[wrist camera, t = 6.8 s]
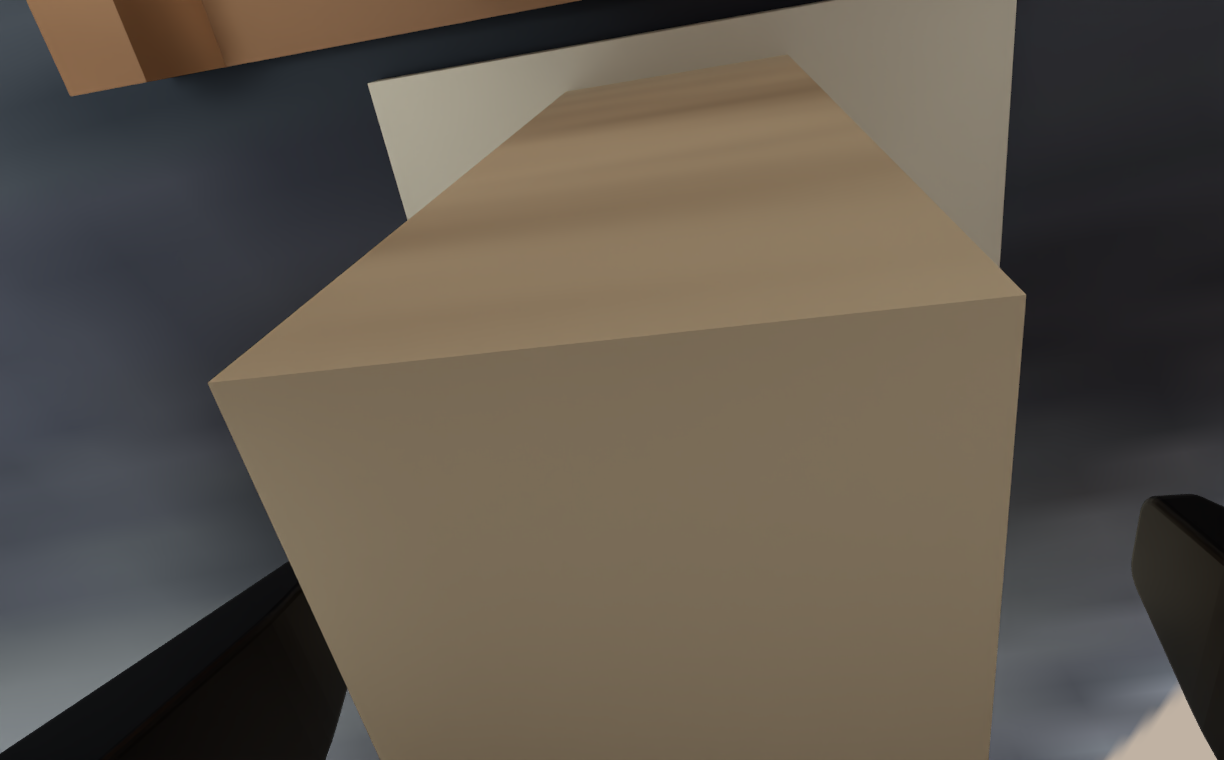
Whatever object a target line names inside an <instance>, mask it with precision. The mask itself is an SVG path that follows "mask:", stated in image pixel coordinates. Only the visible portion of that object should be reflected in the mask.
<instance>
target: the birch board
mask: <svg viewBox="0 0 1224 760" xmlns="http://www.w3.org/2000/svg"><path fill="white" fill-rule="evenodd" d="M1025 305H1026V294H1025V293H1024V292H1023V291H1022V290H1021V289H1020V288H1019V287H1018V286H1017V285H1016V284H1015V283H1014V282H1013V281H1012V280H1011V279H1010V278H1009V277H1008V276H1007V275H1006V274H1005V273H1004V272H1003V271H1002V270H1001V269H1000V268H999V267H998V266H997V265H996V264H995V263H994V262H993V261H992V260H991V259H990V258H989V257H988V256H987V255H986V254H985V253H984V252H983V251H982V250H981V249H980V248H979V247H978V246H977V245H976V244H975V243H974V242H973V241H972V240H971V239H970V238H969V237H968V236H967V235H966V234H965V233H964V232H963V231H962V230H961V229H960V227H959V226H958V225H957V224H956V223H955V222H954V221H953V220H952V219H951V218H950V217H949V216H948V215H947V214H946V213H945V212H944V211H943V210H942V209H941V208H940V207H939V206H938V205H937V204H936V203H935V202H934V201H933V200H932V199H931V198H930V197H929V196H928V195H927V194H926V193H925V192H924V191H923V190H922V189H921V188H920V187H919V186H918V185H917V184H916V183H915V182H914V181H913V180H912V179H911V178H910V177H909V176H908V175H907V174H906V173H905V172H904V171H903V170H902V169H901V168H900V167H899V166H898V165H897V164H896V163H895V162H894V161H893V160H892V159H891V158H890V157H889V156H888V155H887V154H886V153H885V152H884V151H883V150H882V149H881V148H880V147H879V146H878V145H877V144H876V143H875V142H874V141H873V140H872V139H871V138H870V137H869V136H868V135H867V134H866V133H865V132H864V131H863V130H862V129H861V128H860V127H859V126H858V125H857V124H856V123H855V122H854V121H853V120H852V119H851V118H850V117H849V116H848V115H847V114H846V113H845V112H844V111H843V110H842V109H841V108H840V107H839V106H838V105H837V104H836V103H835V102H834V101H833V100H832V99H831V97H830V96H829V95H828V94H827V93H826V92H825V91H824V90H823V89H822V88H821V87H820V86H819V85H818V84H817V83H816V82H815V81H814V80H813V79H812V78H811V77H810V76H809V75H808V74H807V73H806V72H805V71H804V70H803V69H802V68H801V67H800V66H799V65H798V64H797V63H796V62H795V61H794V60H793V59H792V58H791V57H790V56H789V55H788V54H787V55H781V56H775V57H769V58H763V59H757V60H751V61H745V62H739V63H733V64H727V65H721V66H716V67H710V68H704V69H698V70H692V71H686V72H680V73H674V74H668V75H662V76H656V77H650V78H644V79H638V80H632V81H626V82H620V83H614V84H608V85H602V86H596V87H590V88H584V89H578V90H572V91H566V92H565V93H564V94H562V95H561V96H560V97H559V98H557V99H556V100H555V101H554V102H553V103H551V104H550V105H549V106H548V107H546V108H545V109H544V110H543V111H541V112H540V113H539V114H538V115H537V116H535V117H534V118H533V119H532V120H530V121H529V122H528V123H527V124H525V125H524V126H523V127H522V128H521V129H519V130H518V131H517V132H516V133H514V134H513V135H512V136H511V137H509V138H508V139H507V140H506V141H505V142H503V143H502V144H501V145H500V146H498V147H497V148H496V149H495V150H493V151H492V152H491V153H490V154H489V155H487V156H486V157H485V158H484V159H482V160H481V161H480V162H479V163H477V164H476V165H475V166H474V167H473V168H471V169H470V170H469V171H468V172H466V173H465V174H464V175H463V176H461V177H460V178H459V179H458V180H457V181H455V182H454V183H453V184H452V185H450V186H449V187H448V188H447V189H446V190H444V191H443V192H442V193H441V194H439V195H438V196H437V197H436V198H434V199H433V200H432V201H431V202H430V203H428V204H427V205H426V206H425V207H423V208H422V209H421V210H420V211H418V212H417V213H416V214H415V215H414V216H412V217H411V218H410V219H409V220H407V221H406V222H405V223H404V224H402V225H401V226H400V227H399V228H398V229H396V230H395V231H394V232H393V233H391V234H390V235H389V236H388V237H386V238H385V239H384V240H383V241H382V242H380V243H379V244H378V245H377V246H375V247H374V248H373V249H372V250H370V251H369V252H368V253H367V254H366V255H364V256H363V257H362V258H361V259H359V260H358V261H357V262H356V263H354V264H353V265H352V266H351V267H350V268H348V269H347V270H346V271H345V272H343V273H342V274H341V275H340V276H338V277H337V278H336V279H335V280H334V281H332V282H331V283H330V284H329V285H327V286H326V287H325V288H324V289H322V290H321V291H320V292H319V293H318V294H316V295H315V296H314V297H313V298H311V299H310V300H309V301H308V302H306V303H305V304H304V305H303V306H302V307H300V308H299V309H298V310H297V311H295V312H294V313H293V314H292V315H290V316H289V317H288V318H287V319H286V320H284V321H283V322H282V323H281V324H279V325H278V326H277V327H276V328H275V329H273V330H272V331H271V332H270V333H268V334H267V335H266V336H265V337H263V338H262V339H261V340H260V341H259V342H257V343H256V344H255V345H254V346H252V347H251V348H250V349H249V350H247V351H246V352H245V353H244V354H243V355H241V356H240V357H239V358H238V359H236V360H235V361H234V362H233V363H231V364H230V365H229V366H228V367H227V368H225V369H224V370H223V371H222V372H220V373H219V374H218V375H217V376H215V377H214V378H213V379H212V380H211V381H209V382H208V385H209V387H210V389H211V392H212V394H213V396H214V398H215V400H216V403H217V405H218V407H219V409H220V411H221V413H222V416H223V418H224V420H225V422H226V424H227V427H228V429H229V431H230V433H231V435H232V437H233V440H234V442H235V444H236V446H237V448H238V451H239V453H240V455H241V457H242V459H243V461H244V464H245V466H246V468H247V470H248V472H249V475H250V477H251V479H252V481H253V483H254V485H255V488H256V490H257V492H258V494H259V496H260V499H261V501H262V503H263V505H264V507H265V509H266V512H267V514H268V516H269V518H270V520H271V523H272V525H273V527H274V529H275V531H276V533H277V536H278V538H279V540H280V542H281V544H282V547H283V549H284V551H285V553H286V555H287V557H288V560H289V562H290V564H291V566H292V568H293V571H294V573H295V575H296V577H297V579H298V581H299V584H300V586H301V588H302V590H303V592H304V595H305V597H306V599H307V601H308V603H309V605H310V608H311V610H312V612H313V614H314V616H315V619H316V621H317V623H318V625H319V627H320V629H321V632H322V634H323V636H324V638H325V640H326V643H327V645H328V647H329V649H330V651H331V653H332V656H333V658H334V660H335V662H336V664H337V667H338V669H339V671H340V673H341V675H342V677H343V680H344V682H345V684H346V686H347V688H348V691H349V693H350V695H351V697H352V699H353V701H354V704H355V706H356V708H357V710H358V712H359V715H360V717H361V719H362V721H363V723H364V725H365V728H366V730H367V732H368V734H369V736H370V739H371V741H372V743H373V745H374V747H375V749H376V752H377V754H378V756H379V758H380V760H988V759H989V746H990V734H991V722H992V710H993V697H994V685H995V673H996V661H997V648H998V636H999V624H1000V611H1001V599H1002V587H1003V575H1004V562H1005V550H1006V538H1007V526H1008V513H1009V501H1010V489H1011V476H1012V464H1013V452H1014V440H1015V427H1016V415H1017V403H1018V391H1019V378H1020V366H1021V354H1022V341H1023V329H1024V317H1025Z"/></svg>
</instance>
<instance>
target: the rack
mask: <svg viewBox="0 0 1224 760" xmlns="http://www.w3.org/2000/svg"><path fill="white" fill-rule="evenodd" d="M26 1H27V3H28V5H29V7H30V10H31V12H32V14H33V16H34V18H35V20H36V23H37V25H38V27H39V29H40V31H41V33H42V36H43V38H44V40H45V42H46V44H47V46H48V49H49V51H50V53H51V55H52V57H53V59H54V62H55V64H56V66H57V68H58V70H59V72H60V75H61V77H62V79H63V81H64V83H65V85H66V88H67V90H68V92H69V94H70V96H75V95H81V94H86V93H91V92H97V91H102V90H107V89H113V88H118V87H123V86H128V85H134V84H139V83H144V82H150V81H155V80H160V79H166V78H171V77H176V76H181V75H187V74H192V73H197V72H202V71H208V70H213V69H218V68H223V67H229V66H234V65H239V64H245V63H250V62H255V61H261V60H266V59H271V58H277V57H282V56H287V55H293V54H298V53H303V52H308V51H314V50H319V49H324V48H330V47H335V46H340V45H346V44H351V43H356V42H362V41H367V40H372V39H378V38H383V37H388V36H394V35H399V34H404V33H410V32H415V31H420V30H425V29H431V28H436V27H441V26H447V25H452V24H457V23H463V22H468V21H473V20H479V19H484V18H489V17H495V16H500V15H505V14H511V13H516V12H521V11H527V10H532V9H537V8H542V7H548V6H553V5H558V4H564V3H569V2H574V1H580V0H26Z"/></svg>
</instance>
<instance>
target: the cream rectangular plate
mask: <svg viewBox="0 0 1224 760" xmlns="http://www.w3.org/2000/svg"><path fill="white" fill-rule="evenodd" d="M1016 4H1017V0H825V1H820V2H814V3H808V4H803V5H797V6H792V7H786V8H780V9H775V10H769V11H763V12H758V13H752V14H747V15H741V16H735V17H730V18H724V19H718V20H713V21H707V22H702V23H696V24H690V25H685V26H679V27H673V28H668V29H662V30H657V31H651V32H645V33H640V34H634V35H628V36H623V37H617V38H612V39H606V40H600V41H595V42H589V43H583V44H578V45H572V46H567V47H561V48H555V49H550V50H544V51H538V52H533V53H527V54H521V55H516V56H510V57H505V58H499V59H493V60H488V61H482V62H476V63H471V64H465V65H460V66H454V67H448V68H443V69H437V70H431V71H426V72H420V73H415V74H409V75H403V76H398V77H392V78H386V79H381V80H377V81H374V82H371V83H368V87H369V90H370V94H371V97H372V100H373V104H374V107H375V111H376V114H377V117H378V121H379V124H380V128H381V131H382V135H383V138H384V141H385V145H386V148H387V152H388V155H389V158H390V162H391V165H392V169H393V172H394V176H395V179H396V182H397V186H398V189H399V193H400V196H401V199H402V203H403V206H404V210H405V213H406V216H407V220H409V219H410V218H411V217H412V216H414V215H415V214H416V213H417V212H418V211H420V210H421V209H422V208H423V207H425V206H426V205H427V204H428V203H430V202H431V201H432V200H433V199H434V198H436V197H437V196H438V195H439V194H441V193H442V192H443V191H444V190H446V189H447V188H448V187H449V186H450V185H452V184H453V183H454V182H455V181H457V180H458V179H459V178H460V177H461V176H463V175H464V174H465V173H466V172H468V171H469V170H470V169H471V168H473V167H474V166H475V165H476V164H477V163H479V162H480V161H481V160H482V159H484V158H485V157H486V156H487V155H489V154H490V153H491V152H492V151H493V150H495V149H496V148H497V147H498V146H500V145H501V144H502V143H503V142H505V141H506V140H507V139H508V138H509V137H511V136H512V135H513V134H514V133H516V132H517V131H518V130H519V129H521V128H522V127H523V126H524V125H525V124H527V123H528V122H529V121H530V120H532V119H533V118H534V117H535V116H537V115H538V114H539V113H540V112H541V111H543V110H544V109H545V108H546V107H548V106H549V105H550V104H551V103H553V102H554V101H555V100H556V99H557V98H559V97H560V96H561V95H562V94H564V93H565V92H566V91H572V90H578V89H584V88H590V87H596V86H602V85H608V84H614V83H620V82H626V81H632V80H638V79H644V78H650V77H656V76H662V75H668V74H674V73H680V72H686V71H692V70H698V69H704V68H710V67H716V66H721V65H727V64H733V63H739V62H745V61H751V60H757V59H763V58H769V57H775V56H781V55H787V54H788V55H789V56H790V57H791V58H792V59H793V60H794V61H795V62H796V63H797V64H798V65H799V66H800V67H801V68H802V69H803V70H804V71H805V72H806V73H807V74H808V75H809V76H810V77H811V78H812V79H813V80H814V81H815V82H816V83H817V84H818V85H819V86H820V87H821V88H822V89H823V90H824V91H825V92H826V93H827V94H828V95H829V96H830V97H831V99H832V100H833V101H834V102H835V103H836V104H837V105H838V106H839V107H840V108H841V109H842V110H843V111H844V112H845V113H846V114H847V115H848V116H849V117H850V118H851V119H852V120H853V121H854V122H855V123H856V124H857V125H858V126H859V127H860V128H861V129H862V130H863V131H864V132H865V133H866V134H867V135H868V136H869V137H870V138H871V139H872V140H873V141H874V142H875V143H876V144H877V145H878V146H879V147H880V148H881V149H882V150H883V151H884V152H885V153H886V154H887V155H888V156H889V157H890V158H891V159H892V160H893V161H894V162H895V163H896V164H897V165H898V166H899V167H900V168H901V169H902V170H903V171H904V172H905V173H906V174H907V175H908V176H909V177H910V178H911V179H912V180H913V181H914V182H915V183H916V184H917V185H918V186H919V187H920V188H921V189H922V190H923V191H924V192H925V193H926V194H927V195H928V196H929V197H930V198H931V199H932V200H933V201H934V202H935V203H936V204H937V205H938V206H939V207H940V208H941V209H942V210H943V211H944V212H945V213H946V214H947V215H948V216H949V217H950V218H951V219H952V220H953V221H954V222H955V223H956V224H957V225H958V226H959V227H960V229H961V230H962V231H963V232H964V233H965V234H966V235H967V236H968V237H969V238H970V239H971V240H972V241H973V242H974V243H975V244H976V245H977V246H978V247H979V248H980V249H981V250H982V251H983V252H984V253H985V254H986V255H987V256H988V257H989V258H990V259H991V260H992V261H993V262H994V263H995V264H996V265H997V266H998V267H999V268H1000V253H1001V238H1002V222H1003V207H1004V191H1005V175H1006V160H1007V144H1008V129H1009V113H1010V98H1011V82H1012V67H1013V51H1014V35H1015V20H1016Z"/></svg>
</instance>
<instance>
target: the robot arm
mask: <svg viewBox="0 0 1224 760" xmlns="http://www.w3.org/2000/svg"><path fill="white" fill-rule="evenodd" d="M1131 567H1132V576H1133V580H1134V583H1135V586H1136V589H1137V591H1138V593H1139V595H1140V598H1141V600H1142V602H1143V604H1144V607H1145V609H1146V611H1147V613H1148V615H1149V618H1150V620H1151V622H1152V624H1153V626H1154V629H1155V631H1156V633H1157V635H1158V638H1159V640H1160V642H1161V644H1162V646H1163V649H1164V651H1165V653H1166V655H1167V658H1168V660H1169V662H1170V664H1171V666H1172V669H1173V671H1174V673H1175V675H1176V678H1177V680H1178V682H1179V684H1180V686H1181V689H1182V691H1183V693H1184V695H1185V698H1186V700H1187V702H1188V704H1189V706H1190V708H1191V711H1192V713H1193V715H1194V717H1195V719H1196V721H1197V723H1198V725H1199V727H1200V729H1201V731H1202V733H1203V735H1204V737H1205V738H1206V740H1207V742H1208V744H1209V746H1210V747H1211V749H1212V751H1213V752H1214V755H1215V756H1216V758H1217V760H1224V507H1223V506H1221V505H1219V504H1217V503H1214V502H1212V501H1210V500H1208V499H1206V498H1203V497H1201V496H1198V495H1194V494H1180V495H1164V496H1153V497H1150V498H1149V499H1147V500H1146V501H1145V502H1144V503H1143V505H1142V508H1141V511H1140V516H1139V522H1138V527H1137V533H1136V538H1135V544H1134V550H1133V555H1132V563H1131ZM346 691H347V686H346V684H345V682H344V680H343V677H342V675H341V673H340V671H339V669H338V667H337V664H336V662H335V660H334V658H333V656H332V653H331V651H330V649H329V647H328V645H327V643H326V640H325V638H324V636H323V634H322V632H321V629H320V627H319V625H318V623H317V621H316V619H315V616H314V614H313V612H312V610H311V608H310V605H309V603H308V601H307V599H306V597H305V595H304V592H303V590H302V588H301V586H300V584H299V581H298V579H297V577H296V575H295V573H294V571H293V568H292V566H291V564H290V562H289V561H288V562H287V563H285V564H284V565H282V566H281V567H279V568H278V569H276V570H275V571H273V572H272V573H270V574H269V575H267V576H266V577H264V578H263V579H261V580H260V581H258V582H257V583H255V584H254V585H252V586H251V587H249V588H248V589H246V590H245V591H243V592H242V593H240V594H239V595H237V596H236V597H234V598H233V599H231V600H230V601H228V602H227V603H225V604H224V605H222V606H221V607H219V608H218V609H216V610H215V611H213V612H212V613H210V614H209V615H207V616H206V617H204V618H203V619H201V620H200V621H198V622H197V623H195V624H194V625H192V626H191V627H189V628H188V629H186V630H185V631H183V632H182V633H180V634H179V635H177V636H176V637H174V638H173V639H171V640H170V641H168V642H167V643H165V644H164V645H162V646H161V647H159V648H158V649H156V650H155V651H153V652H152V653H150V654H149V655H147V656H146V657H144V658H143V659H141V660H140V661H138V662H137V663H135V664H134V665H132V666H131V667H129V668H128V669H126V670H125V671H123V672H122V673H120V674H119V675H117V676H116V677H114V678H113V679H111V680H110V681H108V682H107V683H105V684H104V685H102V686H101V687H99V688H98V689H96V690H95V691H93V692H92V693H90V694H89V695H87V696H86V697H84V698H83V699H81V700H80V701H78V702H77V703H75V704H74V705H72V706H71V707H69V708H68V709H66V710H65V711H63V712H62V713H60V714H59V715H57V716H56V717H54V718H53V719H51V720H50V721H48V722H47V723H45V724H44V725H42V726H41V727H39V728H38V729H36V730H35V731H33V732H32V733H30V734H29V735H27V736H26V737H24V738H23V739H21V740H20V741H18V742H17V743H15V744H14V745H12V746H11V747H9V748H8V749H7V750H5V751H4V752H2V753H1V754H0V760H325V759H326V756H327V754H328V751H329V748H330V745H331V742H332V739H333V736H334V733H335V730H336V727H337V723H338V720H339V716H340V713H341V709H342V706H343V702H344V698H345V695H346Z"/></svg>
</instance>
